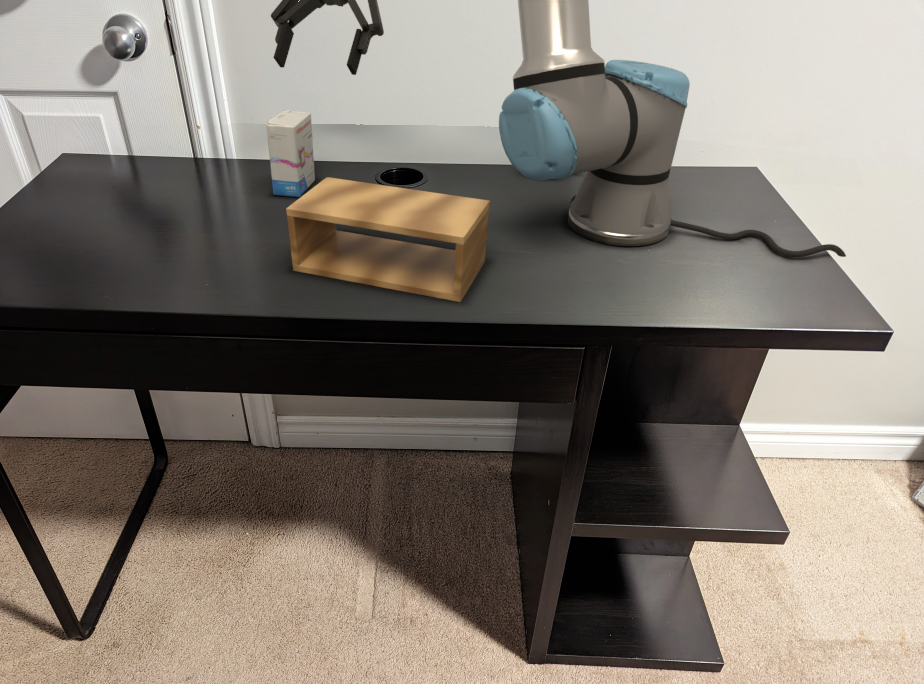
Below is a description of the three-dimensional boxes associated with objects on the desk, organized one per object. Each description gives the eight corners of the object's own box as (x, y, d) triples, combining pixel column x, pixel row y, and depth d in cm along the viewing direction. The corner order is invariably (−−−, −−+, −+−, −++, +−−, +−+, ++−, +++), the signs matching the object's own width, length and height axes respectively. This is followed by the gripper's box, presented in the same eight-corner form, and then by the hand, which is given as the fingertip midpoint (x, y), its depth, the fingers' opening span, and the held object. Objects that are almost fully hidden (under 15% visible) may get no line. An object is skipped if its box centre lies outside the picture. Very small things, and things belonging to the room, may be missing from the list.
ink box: (301, 198, 114) (293, 125, 106) (272, 195, 114) (263, 123, 107) (316, 180, 120) (311, 110, 113) (289, 177, 121) (282, 108, 114)
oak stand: (485, 261, 96) (490, 200, 90) (460, 302, 87) (463, 237, 81) (331, 235, 102) (326, 176, 97) (293, 270, 93) (285, 208, 88)
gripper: (420, -28, 117) (389, 86, 115) (291, -35, 124) (259, 72, 122) (409, -62, 110) (376, 59, 108) (273, -68, 117) (239, 46, 115)
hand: (314, 66), depth 115 cm, fingers open, 13 cm apart
